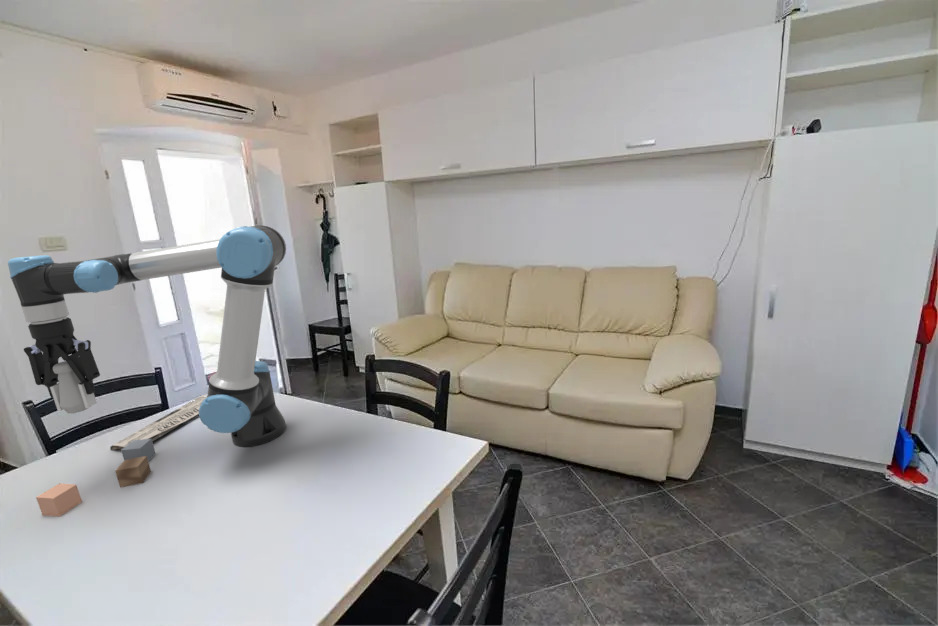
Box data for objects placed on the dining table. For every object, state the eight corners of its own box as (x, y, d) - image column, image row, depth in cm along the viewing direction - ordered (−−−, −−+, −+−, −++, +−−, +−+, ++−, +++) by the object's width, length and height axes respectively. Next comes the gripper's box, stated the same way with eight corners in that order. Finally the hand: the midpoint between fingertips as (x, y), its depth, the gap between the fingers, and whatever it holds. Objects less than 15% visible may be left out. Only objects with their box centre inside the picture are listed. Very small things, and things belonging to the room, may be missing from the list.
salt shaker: (74, 415, 103) (58, 367, 100) (57, 415, 104) (40, 366, 101) (99, 404, 109) (84, 358, 106) (82, 404, 110) (67, 358, 107)
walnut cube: (151, 472, 113) (146, 455, 111) (142, 483, 108) (137, 466, 107) (129, 476, 111) (124, 459, 110) (120, 487, 107) (115, 470, 105)
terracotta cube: (82, 502, 102) (76, 484, 101) (59, 516, 97) (53, 498, 96) (65, 500, 103) (59, 483, 102) (42, 515, 98) (35, 497, 97)
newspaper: (200, 400, 157) (198, 391, 156) (229, 401, 155) (227, 392, 154) (106, 454, 124) (103, 443, 123) (141, 456, 121) (138, 445, 121)
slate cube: (155, 453, 122) (151, 438, 120) (144, 463, 117) (140, 448, 115) (137, 455, 121) (133, 440, 120) (125, 466, 116) (120, 450, 115)
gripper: (102, 313, 105) (126, 396, 111) (21, 319, 103) (50, 404, 109) (78, 320, 98) (105, 409, 104) (-9, 327, 96) (24, 417, 102)
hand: (77, 406), depth 106 cm, fingers closed on salt shaker, 6 cm apart
